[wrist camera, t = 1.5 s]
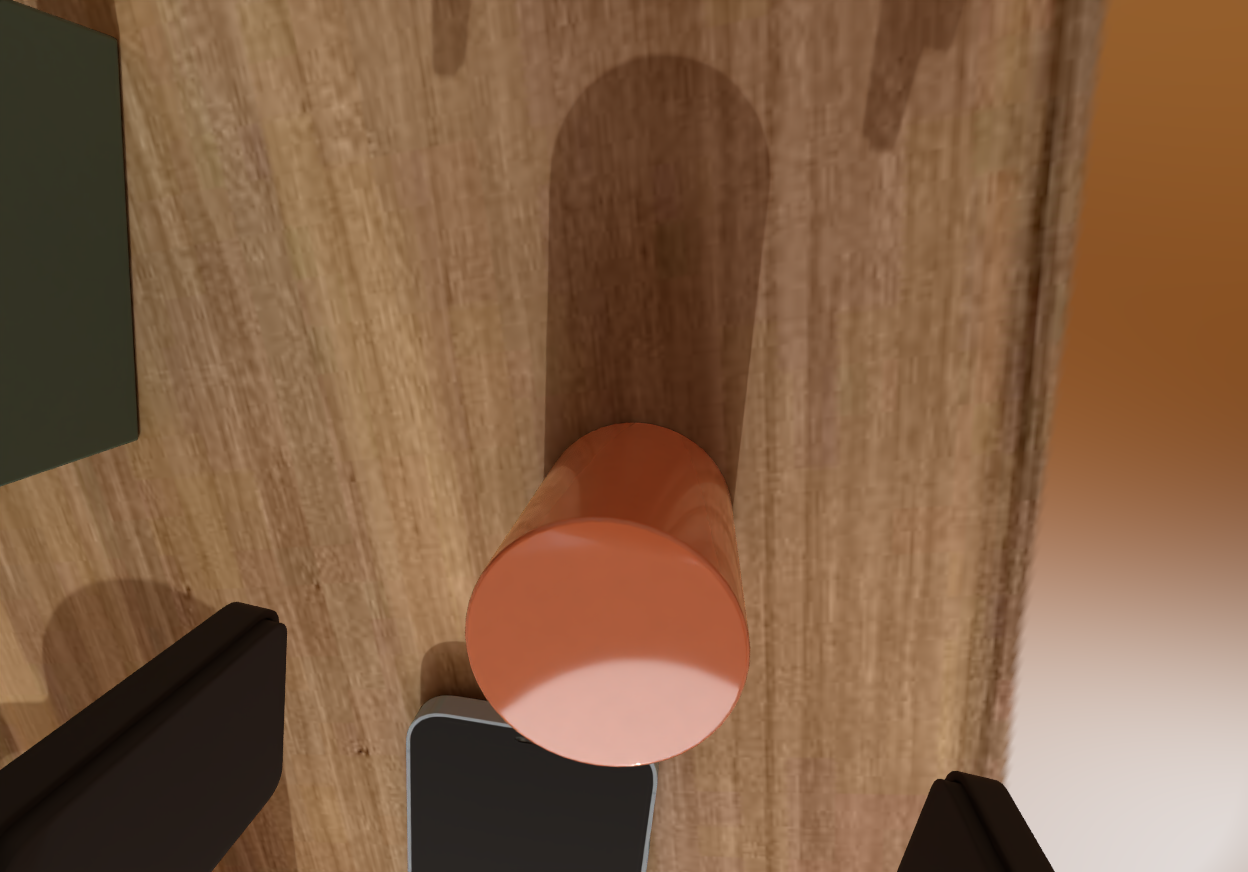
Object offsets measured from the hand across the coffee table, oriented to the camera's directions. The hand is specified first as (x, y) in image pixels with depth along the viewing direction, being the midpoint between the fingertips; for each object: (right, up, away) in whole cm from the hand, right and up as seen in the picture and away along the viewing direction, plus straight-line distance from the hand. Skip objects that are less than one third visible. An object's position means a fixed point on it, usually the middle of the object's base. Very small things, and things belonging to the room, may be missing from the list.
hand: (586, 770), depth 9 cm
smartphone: (-3, -10, +12) cm, 16 cm away
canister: (+1, +3, +8) cm, 8 cm away
